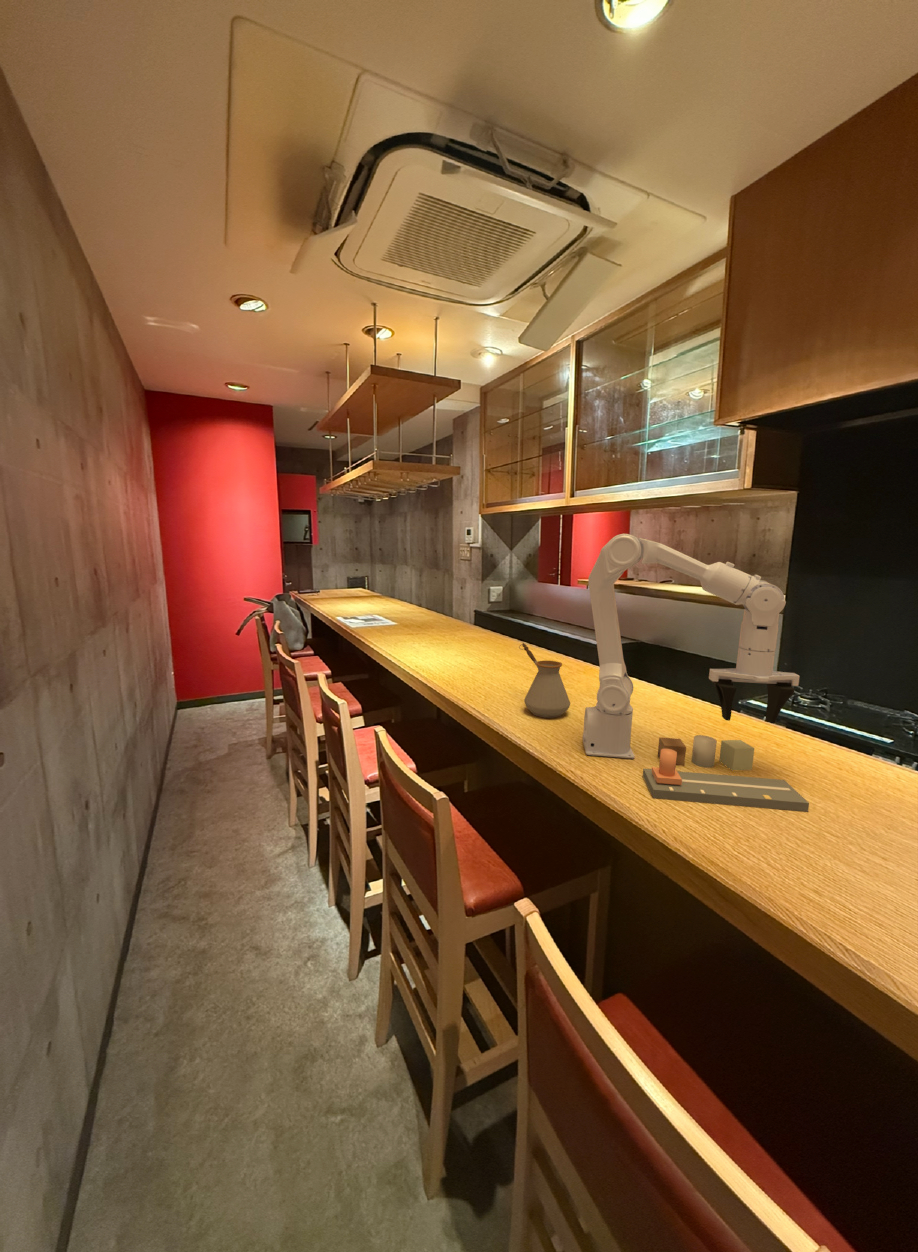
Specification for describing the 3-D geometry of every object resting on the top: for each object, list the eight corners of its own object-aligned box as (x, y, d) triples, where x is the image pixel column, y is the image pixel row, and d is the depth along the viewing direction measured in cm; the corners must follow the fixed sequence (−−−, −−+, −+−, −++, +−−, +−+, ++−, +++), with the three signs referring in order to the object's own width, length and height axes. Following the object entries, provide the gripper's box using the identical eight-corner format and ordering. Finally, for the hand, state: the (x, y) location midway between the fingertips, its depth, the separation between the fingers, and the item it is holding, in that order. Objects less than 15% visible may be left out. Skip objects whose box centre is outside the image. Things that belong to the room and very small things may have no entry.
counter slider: (657, 782, 84) (659, 755, 83) (651, 772, 88) (653, 746, 87) (681, 784, 83) (684, 757, 83) (675, 774, 87) (677, 747, 86)
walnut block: (662, 764, 95) (664, 745, 95) (657, 756, 99) (659, 737, 99) (684, 766, 95) (686, 746, 94) (678, 757, 99) (680, 738, 98)
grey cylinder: (695, 766, 94) (697, 742, 94) (688, 758, 98) (691, 734, 98) (717, 768, 94) (719, 744, 93) (709, 759, 98) (712, 736, 97)
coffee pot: (578, 718, 120) (582, 658, 117) (536, 722, 116) (539, 661, 114) (538, 692, 140) (540, 641, 137) (501, 696, 136) (503, 643, 134)
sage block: (732, 771, 93) (734, 748, 92) (719, 761, 97) (721, 740, 96) (751, 770, 94) (754, 748, 93) (737, 761, 97) (740, 739, 97)
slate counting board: (652, 797, 82) (653, 788, 82) (642, 776, 90) (643, 767, 90) (807, 811, 79) (809, 802, 79) (783, 787, 87) (784, 778, 86)
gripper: (722, 651, 85) (714, 725, 88) (812, 655, 83) (802, 730, 86) (708, 643, 92) (701, 711, 95) (791, 647, 90) (782, 717, 93)
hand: (747, 720), depth 91 cm, fingers open, 7 cm apart
